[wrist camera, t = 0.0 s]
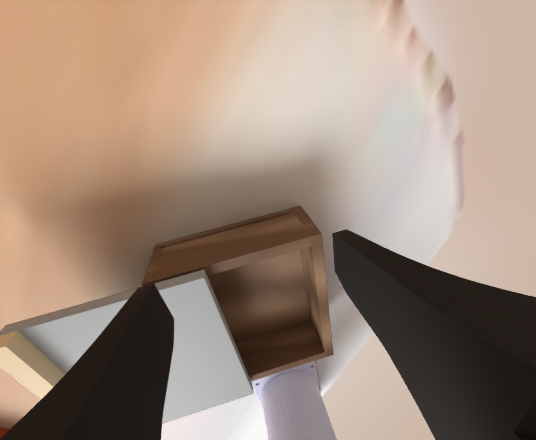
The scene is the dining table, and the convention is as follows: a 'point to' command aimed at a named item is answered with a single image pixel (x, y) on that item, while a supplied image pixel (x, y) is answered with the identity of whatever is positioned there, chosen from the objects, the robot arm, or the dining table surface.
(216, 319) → the lid
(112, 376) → the robot arm
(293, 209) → the box
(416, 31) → the dining table surface
